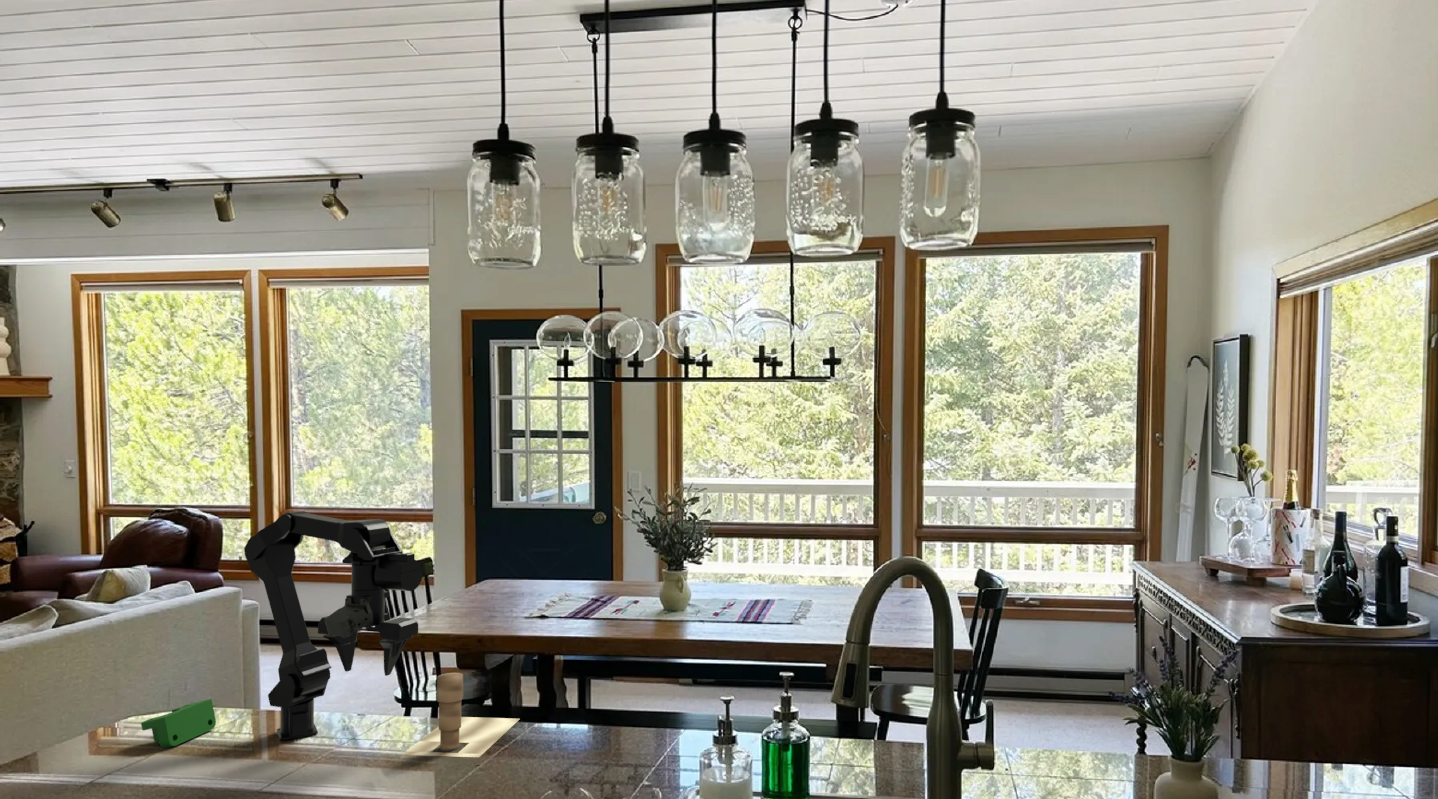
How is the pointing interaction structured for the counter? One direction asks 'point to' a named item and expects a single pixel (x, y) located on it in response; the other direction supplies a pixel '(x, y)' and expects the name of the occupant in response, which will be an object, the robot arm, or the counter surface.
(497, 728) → the board
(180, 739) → the green mounting bracket
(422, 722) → the counter surface
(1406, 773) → the counter surface
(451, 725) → the peg
